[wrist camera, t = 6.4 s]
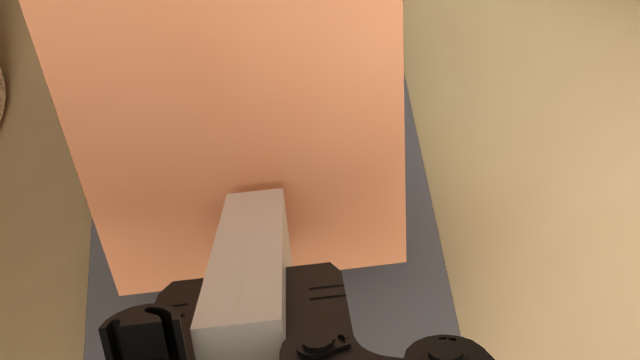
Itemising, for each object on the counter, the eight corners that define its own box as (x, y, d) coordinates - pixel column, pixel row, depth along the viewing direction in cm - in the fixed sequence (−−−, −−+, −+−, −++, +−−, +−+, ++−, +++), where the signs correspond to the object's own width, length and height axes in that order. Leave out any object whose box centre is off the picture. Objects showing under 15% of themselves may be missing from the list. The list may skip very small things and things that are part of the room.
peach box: (406, 262, 19) (400, -183, 13) (119, 295, 19) (-30, -140, 13) (392, 217, 21) (380, -183, 15) (133, 247, 21) (13, -146, 15)
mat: (476, 435, 19) (481, 434, 18) (86, 484, 18) (75, 485, 18) (376, -37, 28) (377, -51, 27) (112, -10, 27) (106, -23, 26)
